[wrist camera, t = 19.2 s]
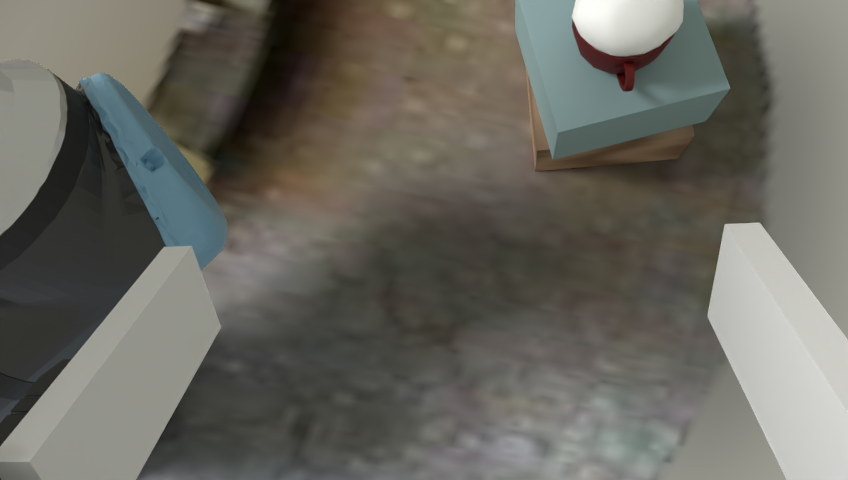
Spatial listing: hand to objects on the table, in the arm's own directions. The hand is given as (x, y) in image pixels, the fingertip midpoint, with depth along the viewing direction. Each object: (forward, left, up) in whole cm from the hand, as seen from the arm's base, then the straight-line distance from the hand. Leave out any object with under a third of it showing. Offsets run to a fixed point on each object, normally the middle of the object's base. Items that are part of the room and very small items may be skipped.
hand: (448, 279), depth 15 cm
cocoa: (+9, +19, -22) cm, 31 cm away
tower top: (+9, +20, -27) cm, 35 cm away
